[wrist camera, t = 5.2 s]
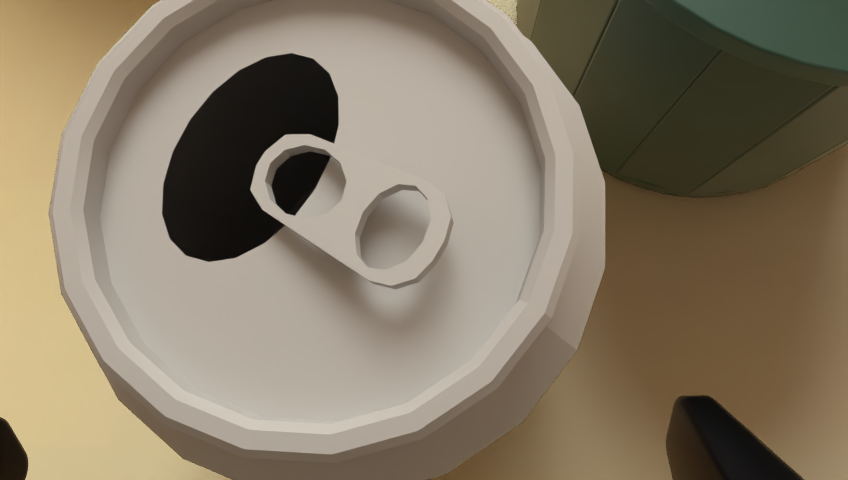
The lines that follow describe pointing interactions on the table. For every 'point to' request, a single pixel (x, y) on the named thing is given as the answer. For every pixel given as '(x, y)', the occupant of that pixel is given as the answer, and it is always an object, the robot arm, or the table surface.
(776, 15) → the pot lid
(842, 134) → the pot
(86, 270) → the can
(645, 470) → the table surface
